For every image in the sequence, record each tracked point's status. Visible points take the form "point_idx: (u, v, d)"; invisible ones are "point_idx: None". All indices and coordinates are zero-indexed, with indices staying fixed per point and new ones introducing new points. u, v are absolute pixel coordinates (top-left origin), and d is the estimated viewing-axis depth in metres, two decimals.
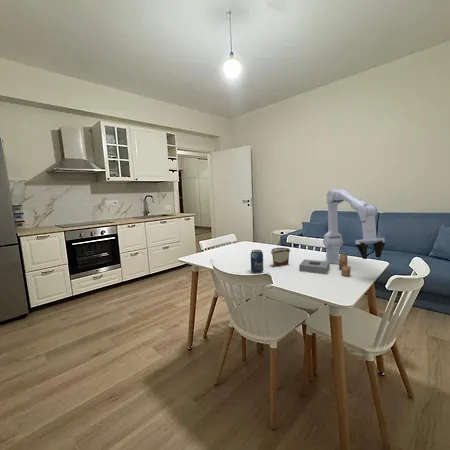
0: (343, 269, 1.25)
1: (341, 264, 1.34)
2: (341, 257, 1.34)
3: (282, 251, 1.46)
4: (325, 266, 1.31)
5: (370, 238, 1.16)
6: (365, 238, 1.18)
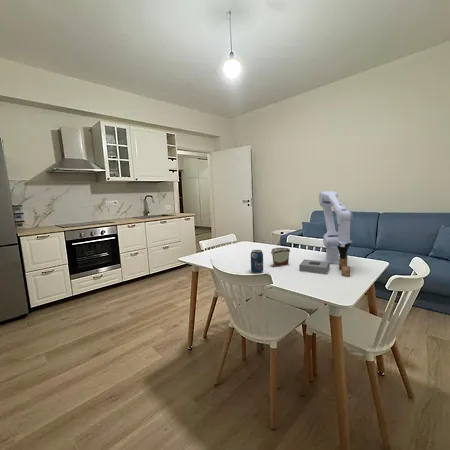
0: (343, 269, 1.25)
1: (341, 264, 1.34)
2: None
3: (282, 251, 1.46)
4: (325, 266, 1.31)
5: (348, 240, 1.31)
6: (344, 240, 1.31)
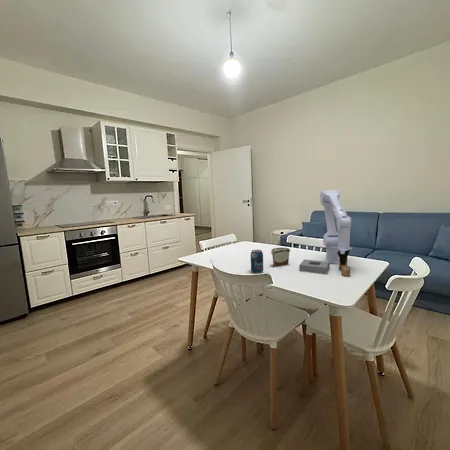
0: (343, 269, 1.25)
1: None
2: None
3: (282, 251, 1.46)
4: (325, 266, 1.31)
5: (348, 247, 1.32)
6: (344, 247, 1.32)
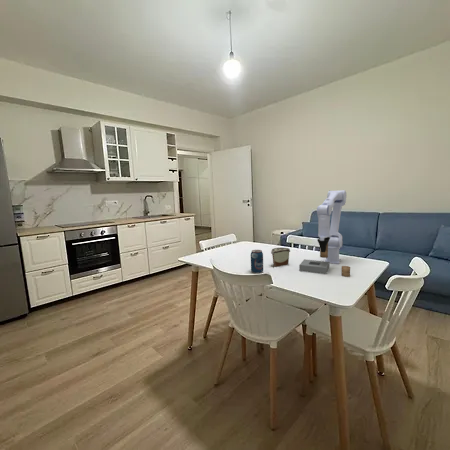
0: (343, 269, 1.25)
1: None
2: None
3: (282, 251, 1.46)
4: (325, 266, 1.31)
5: (328, 234, 1.32)
6: (324, 234, 1.32)
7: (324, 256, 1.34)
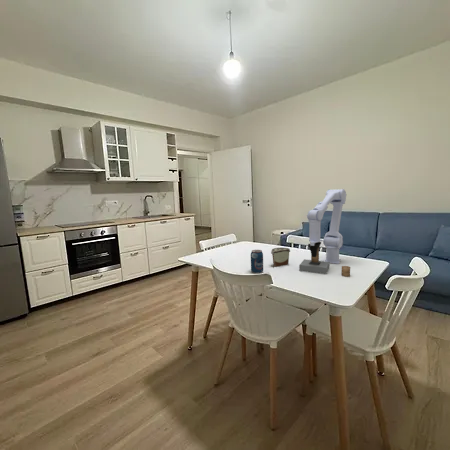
0: (343, 269, 1.25)
1: None
2: None
3: (282, 251, 1.46)
4: (325, 266, 1.31)
5: (318, 239, 1.33)
6: (314, 239, 1.33)
7: (315, 261, 1.35)
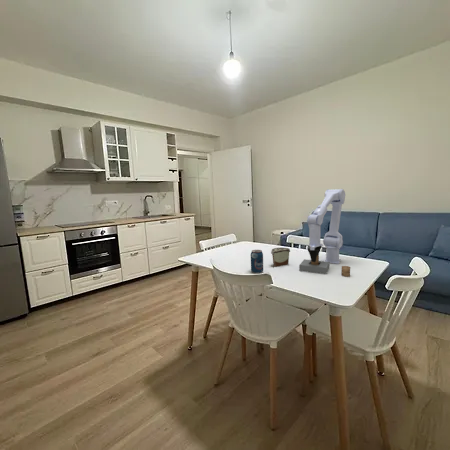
0: (343, 269, 1.25)
1: (313, 264, 1.36)
2: None
3: (282, 251, 1.46)
4: (325, 266, 1.31)
5: (318, 243, 1.33)
6: (314, 244, 1.33)
7: None
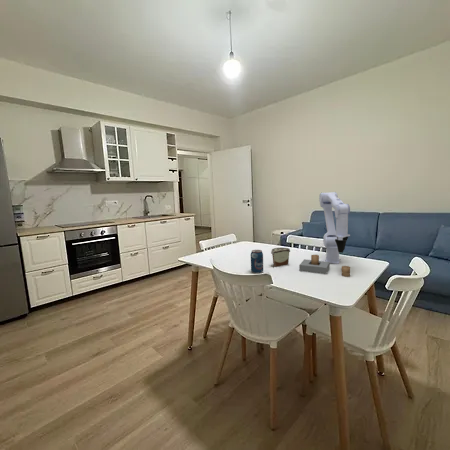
0: (343, 269, 1.25)
1: (313, 264, 1.36)
2: (312, 258, 1.36)
3: (282, 251, 1.46)
4: (325, 266, 1.31)
5: (346, 234, 1.31)
6: (342, 234, 1.31)
7: None
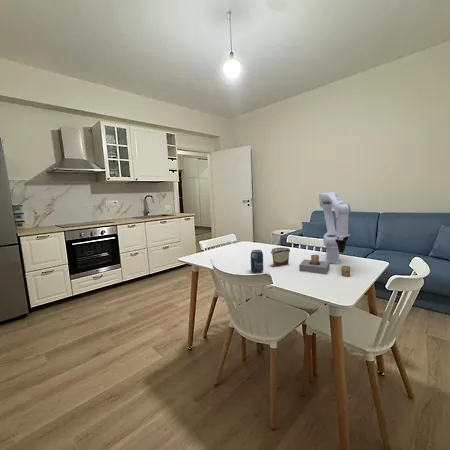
0: (343, 269, 1.25)
1: (313, 264, 1.36)
2: (312, 258, 1.36)
3: (282, 251, 1.46)
4: (325, 266, 1.31)
5: (346, 234, 1.31)
6: (342, 234, 1.31)
7: None
